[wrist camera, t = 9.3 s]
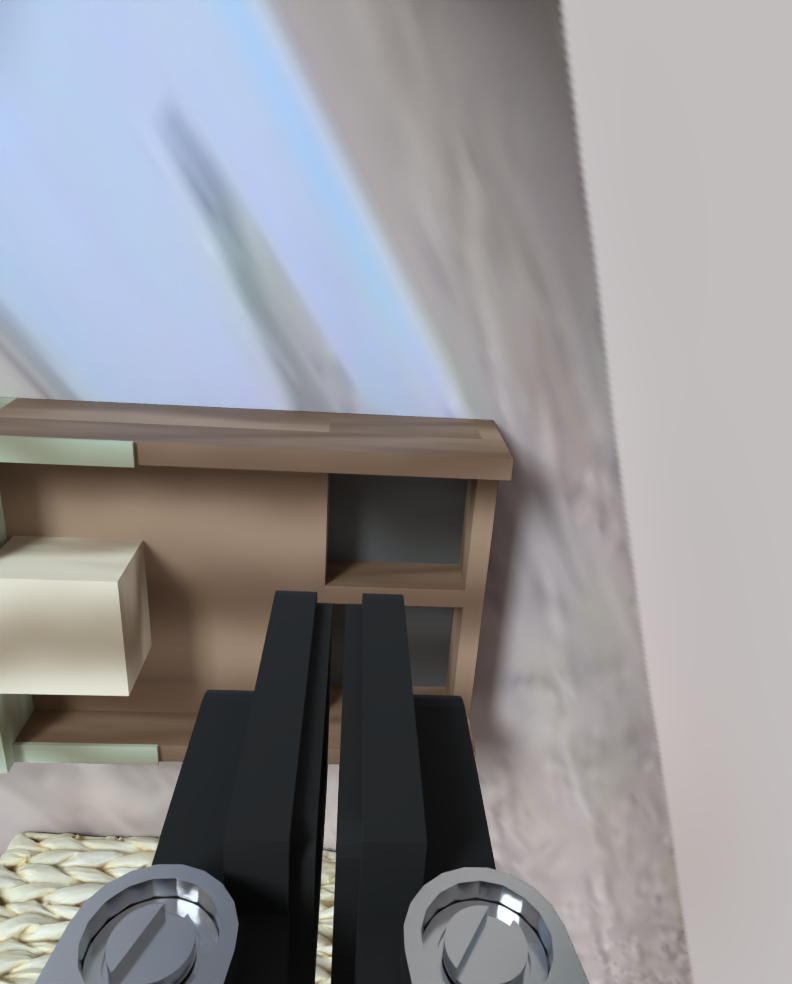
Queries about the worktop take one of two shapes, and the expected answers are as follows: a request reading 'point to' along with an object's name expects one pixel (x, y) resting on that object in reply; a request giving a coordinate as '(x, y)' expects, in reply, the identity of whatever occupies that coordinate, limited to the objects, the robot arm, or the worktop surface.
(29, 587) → the birch block
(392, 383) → the worktop surface
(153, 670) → the box
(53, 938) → the storage basket
